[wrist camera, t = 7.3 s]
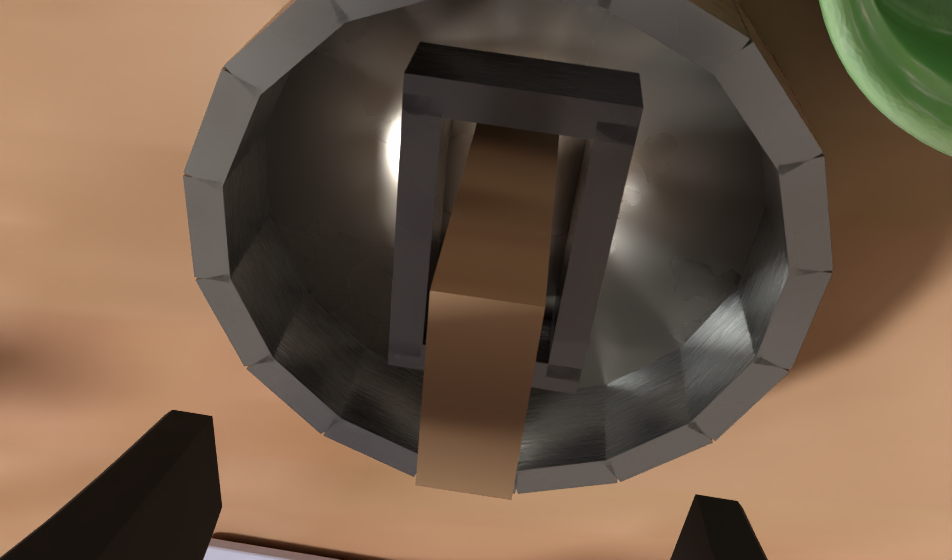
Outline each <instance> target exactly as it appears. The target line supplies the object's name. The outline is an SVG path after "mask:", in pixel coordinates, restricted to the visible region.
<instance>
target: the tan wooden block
mask: <svg viewBox="0 0 952 560" xmlns="http://www.w3.org/2000/svg"><path fill="white" fill-rule="evenodd" d="M558 145H559V135H556V134H550V133H543V132H536V131H529V130H522V129H515V128H508V127H502V126H495V125H488V124H481V123H477V124H476V128H475V131H474V135H473V139H472V142H471V146H470V149H469V153H468V156H467V160H466V164H465V167H464V171H463V174H462V178H461V181H460V185H459V189H458V192H457V196H456V199H455V203H454V206H453V210H452V214H451V217H450V221H449V224H448V228H447V232H446V235H445V239H444V242H443V246H442V249H441V253H440V257H439V260H438V264H437V267H436V271H435V274H434V278H433V282H432V285H431V289H430V297H429V310H428V324H427V337H426V351H425V365H424V378H423V392H422V405H421V419H420V432H419V446H418V459H417V473H416V485H417V486H424V487H430V488H437V489H443V490H450V491H456V492H463V493H469V494H476V495H482V496H489V497H495V498H502V499H508V500H511V499H512V494H513V488H514V482H515V477H516V471H517V465H518V460H519V454H520V448H521V442H522V437H523V431H524V425H525V420H526V414H527V408H528V402H529V397H530V391H531V385H532V380H533V374H534V368H535V363H536V357H537V351H538V345H539V340H540V334H541V328H542V323H543V317H544V311H545V304H546V291H547V279H548V267H549V255H550V242H551V230H552V218H553V206H554V194H555V181H556V169H557V157H558Z"/></svg>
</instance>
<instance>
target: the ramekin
mask: <svg viewBox="0 0 952 560" xmlns="http://www.w3.org/2000/svg"><path fill="white" fill-rule="evenodd" d="M819 4H820V7H821V11H822V15H823V19H824V22H825V25H826V28H827V31H828V34H829V36H830V39H831V41H832V44H833V46H834V48H835V50H836V52H837V55H838V57H839V58H840V60H841V62H842V64H843V65H844V67H845V69H846V71H847V72H848V74H849V75H850V77H851V78H852V79H853V81H854V82H855V84H856V85H857V86H858V88H859V89H860V90H861V91H862V93H863V94H864V95H865V96H866V97H867V98H868V100H869V101H870V102H871V103H872V104H873V105H874V106H875V107H876V108H877V109H878V110H879V111H880V112H881V113H882V114H883V115H885V116H886V117H887V118H888V119H889V120H890V121H892V122H893V123H894V124H895V125H897V126H898V127H900V128H901V129H903V130H904V131H906V132H907V133H909V134H910V135H911V136H913V137H914V138H916V139H917V140H919V141H920V142H922V143H924V144H926V145H928V146H930V147H932V148H933V149H935V150H937V151H939V152H942V153H944V154H946V155H948V156H951V157H952V0H819Z"/></svg>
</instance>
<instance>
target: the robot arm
mask: <svg viewBox="0 0 952 560" xmlns="http://www.w3.org/2000/svg"><path fill="white" fill-rule="evenodd" d="M221 509H222V501H221V492H220V483H219V473H218V464H217V455H216V446H215V436H214V427H213V418H212V416H208V415H202V414H196V413H190V412H183V411H177V410H171V411H170V412H168V413H167V414H166V415H164V416H163V417H162V418H161V419H160V420H159V421H158V422H157V423H156V424H155V425H154V426H153V427H152V428H151V429H149V430H148V431H147V432H146V433H145V434H144V435H143V436H142V437H141V438H140V439H139V440H138V441H137V442H135V443H134V444H133V445H132V446H131V447H130V448H129V449H128V450H127V451H126V452H125V453H124V454H122V455H121V456H120V457H119V458H118V459H117V460H116V461H115V462H114V463H113V464H111V465H110V466H109V467H108V468H107V469H106V470H105V471H104V472H103V473H101V474H100V475H99V476H98V477H97V478H96V479H95V480H94V481H92V482H91V483H90V484H89V485H88V486H87V487H85V488H84V489H83V490H82V491H81V492H80V493H79V494H77V495H76V496H75V497H74V498H73V499H72V500H70V501H69V502H68V503H67V504H66V505H65V506H63V507H62V508H61V509H60V510H59V511H58V512H56V513H55V514H54V515H53V516H52V517H51V518H49V519H48V520H47V521H46V522H45V523H43V524H42V525H41V526H40V527H38V528H37V529H36V530H35V531H33V532H32V533H31V534H29V535H28V536H27V537H26V538H24V539H23V540H22V541H21V542H19V543H18V544H17V545H16V546H14V547H13V548H12V549H10V550H9V551H8V552H7V553H5V554H4V555H3V556H2V557H0V560H340V559H334V558H328V557H322V556H316V555H310V554H304V553H298V552H292V551H285V550H279V549H273V548H267V547H261V546H255V545H249V544H243V543H237V542H231V541H225V540H219V539H213V538H211V537H212V534H213V532H214V529H215V526H216V523H217V520H218V517H219V514H220V511H221ZM670 560H768V559H767V557H766V555H765V553H764V551H763V549H762V547H761V545H760V543H759V541H758V539H757V537H756V535H755V533H754V531H753V529H752V527H751V525H750V522H749V520H748V518H747V516H746V514H745V512H744V510H743V508H742V506H741V505H740V504H739V502H738V501H734V500H727V499H721V498H715V497H709V496H703V495H697V494H696V495H695V497H694V500H693V502H692V505H691V508H690V510H689V513H688V515H687V518H686V520H685V523H684V526H683V528H682V531H681V533H680V536H679V539H678V541H677V544H676V546H675V549H674V551H673V554H672V557H671V559H670Z"/></svg>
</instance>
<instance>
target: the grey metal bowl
mask: <svg viewBox="0 0 952 560" xmlns="http://www.w3.org/2000/svg"><path fill="white" fill-rule="evenodd" d="M477 123H481V124H488V125H495V126H502V127H508V128H515V129H522V130H529V131H536V132H543V133H550V134H556V135H559V145H558V157H557V169H556V181H555V194H554V206H553V218H552V230H551V242H550V255H549V267H548V279H547V291H546V304H545V311H544V317H543V323H542V328H541V334H540V340H539V345H538V351H537V357H536V363H535V368H534V374H533V380H532V385H531V391H530V397H529V402H528V408H527V414H526V420H525V425H524V431H523V437H522V442H521V448H520V454H519V460H518V465H517V471H516V477H515V482H514V488H513V493H515V490H516V489H517V492H518V494H520V493H529V492H538V491H547V490H556V489H565V488H574V487H584V486H593V485H602V484H611V483H617V479H618V480H619V481H620V482H622V481H624V480H626V479H629V478H631V477H633V476H636V475H638V474H640V473H643V472H645V471H647V470H650V469H652V468H654V467H657V466H659V465H661V464H664V463H666V462H668V461H671V460H673V459H675V458H678V457H680V456H682V455H685V454H687V453H689V452H692V451H694V450H697V449H699V448H701V447H704V446H706V445H708V444H711V443H713V442H712V439H713V440H715V441H716V440H717V439H718V438H719V437H720V436H721V435H722V434H723V433H724V432H725V431H727V430H728V429H729V428H730V427H731V426H732V425H733V424H734V423H735V422H736V421H737V420H738V419H739V418H741V417H742V416H743V415H744V414H745V413H746V412H747V411H748V410H749V409H750V408H751V407H752V406H753V405H755V404H756V403H757V402H758V401H759V400H760V399H761V398H762V397H763V396H764V395H765V394H766V393H767V392H768V391H770V390H771V389H772V388H773V387H774V386H775V385H776V384H777V383H778V382H779V381H780V380H781V379H782V378H784V377H785V376H786V375H787V374H788V373H789V369H792V367H793V364H794V362H795V360H796V357H797V355H798V353H799V350H800V348H801V346H802V343H803V341H804V339H805V336H806V334H807V332H808V329H809V327H810V325H811V322H812V320H813V318H814V315H815V313H816V311H817V308H818V306H819V304H820V301H821V299H822V297H823V294H824V292H825V289H826V287H827V285H828V282H829V280H830V278H831V275H832V271H831V270H833V263H832V250H831V236H830V223H829V210H828V197H827V183H826V170H825V157H824V155H823V151H822V149H821V147H820V145H819V143H818V141H817V139H816V137H815V135H814V133H813V131H812V130H811V128H810V126H809V124H808V122H807V120H806V118H805V116H804V114H803V112H802V110H801V108H800V106H799V104H798V102H797V100H796V98H795V96H794V94H793V92H792V90H791V88H790V86H789V84H788V82H787V80H786V79H785V77H784V75H783V74H782V72H781V71H780V69H779V67H778V66H777V64H776V63H775V61H774V59H773V58H772V56H771V55H770V53H769V51H768V50H767V48H766V47H765V45H764V43H763V42H762V40H761V39H760V37H759V35H758V34H757V32H756V31H755V29H754V28H753V26H752V24H751V23H750V21H749V20H748V18H747V16H746V15H745V13H744V12H743V10H742V8H741V7H740V5H739V4H738V2H737V0H291V1H290V2H289V3H288V4H287V5H286V6H284V7H283V8H282V9H281V10H280V11H279V12H278V13H277V14H276V15H275V16H274V17H273V18H272V19H271V20H270V21H269V22H268V23H267V24H266V25H265V26H264V27H263V28H262V29H261V30H260V31H259V32H258V33H257V34H256V35H255V36H254V37H253V38H252V39H251V40H250V41H249V42H248V43H247V44H246V45H245V46H244V47H243V48H242V49H241V50H239V51H238V52H237V53H236V54H235V55H234V56H233V57H232V58H231V59H230V60H229V61H228V62H227V63H226V64H225V65H224V67H223V68H222V70H221V72H220V75H219V78H218V81H217V83H216V86H215V89H214V91H213V94H212V97H211V99H210V102H209V105H208V108H207V110H206V113H205V116H204V118H203V121H202V124H201V127H200V129H199V132H198V135H197V137H196V140H195V143H194V145H193V148H192V151H191V154H190V156H189V159H188V162H187V164H186V167H185V170H184V173H185V174H184V176H183V179H184V188H185V197H186V206H187V215H188V224H189V232H190V241H191V250H192V259H193V268H194V277H197V279H196V282H197V284H198V285H199V287H200V289H201V291H202V292H203V294H204V296H205V298H206V299H207V301H208V303H209V305H210V307H211V308H212V310H213V312H214V314H215V315H216V317H217V319H218V321H219V322H220V324H221V326H222V328H223V329H224V331H225V333H226V335H227V336H228V338H229V340H230V342H231V344H232V345H233V347H234V349H235V351H236V352H237V354H238V356H239V358H240V359H241V361H242V363H243V365H244V366H248V367H247V370H248V371H250V372H251V373H252V374H253V375H254V376H255V377H256V378H258V379H259V380H260V381H261V382H262V383H263V384H264V385H266V386H267V387H268V388H269V389H270V390H271V391H272V392H274V393H275V394H276V395H277V396H278V397H279V398H280V399H282V400H283V401H284V402H285V403H286V404H287V405H288V406H290V407H291V408H292V409H293V410H294V411H295V412H296V413H298V414H299V415H300V416H301V417H302V418H303V419H304V420H306V421H307V422H308V423H309V424H310V425H311V426H312V427H314V428H315V429H316V430H317V431H318V432H319V433H320V434H321V433H323V432H325V433H324V436H326V437H328V438H330V439H332V440H334V441H336V442H339V443H341V444H343V445H345V446H347V447H350V448H352V449H354V450H356V451H358V452H361V453H363V454H365V455H367V456H369V457H372V458H374V459H376V460H378V461H380V462H382V463H385V464H387V465H389V466H391V467H393V468H396V469H398V470H400V471H402V472H404V473H407V474H409V475H411V476H413V477H414V476H415V474H416V473H417V459H418V446H419V432H420V419H421V405H422V392H423V378H424V365H425V351H426V337H427V324H428V310H429V297H430V289H431V285H432V282H433V278H434V274H435V271H436V267H437V264H438V260H439V257H440V253H441V249H442V246H443V242H444V239H445V235H446V232H447V228H448V224H449V221H450V217H451V214H452V210H453V206H454V203H455V199H456V196H457V192H458V189H459V185H460V181H461V178H462V174H463V171H464V167H465V164H466V160H467V156H468V153H469V149H470V146H471V142H472V139H473V135H474V131H475V128H476V124H477Z"/></svg>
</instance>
